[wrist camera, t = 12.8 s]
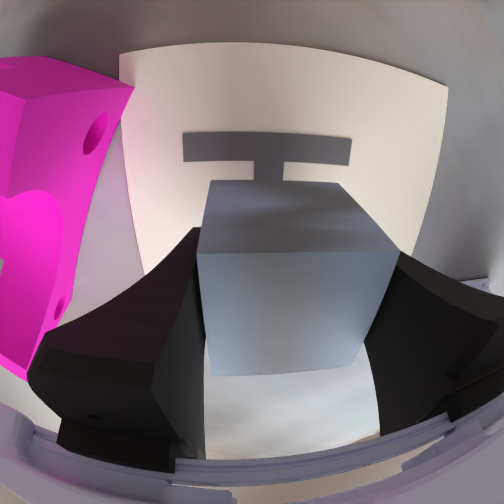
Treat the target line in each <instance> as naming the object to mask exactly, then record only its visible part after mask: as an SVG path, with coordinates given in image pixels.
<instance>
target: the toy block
mask: <svg viewBox="0 0 504 504" xmlns="http://www.w3.org/2000/svg"><path fill="white" fill-rule="evenodd" d="M134 88H135V87H133V86H131V85H128V84H126V83H123V82H121V81H118V80H115V79H113V78H110V77H107V76H105V75H102V74H99V73H97V72H94V71H91V70H88V69H85V68H82V67H79V66H76V65H73V64H70V63H66V62H63V61H60V60H56V59H53V58H49V57H46V56H22V57H4V58H0V258H1V259H3V260H4V263H3V267H2V271H1V274H0V365H1V366H3V367H4V368H6V369H7V370H9V371H10V372H12V373H13V374H15V375H17V376H18V377H20V378H21V379H23V380H25V381H26V382H28V381H27V371H28V369H29V366H30V364H31V362H32V359H33V357H34V355H35V353H36V351H37V348H38V346H39V344H40V342H41V340H42V338H43V336H44V334H45V332H47V331H50V330H52V329H54V328H56V327H57V325H58V323H59V321H60V319H61V318H62V316H63V314H64V312H65V310H66V308H67V307H68V305H69V303H70V301H71V298H72V290H73V283H74V276H75V270H76V264H77V259H78V253H79V248H80V243H81V239H82V234H83V230H84V226H85V221H86V217H87V214H88V210H89V206H90V202H91V199H92V195H93V192H94V189H95V185H96V182H97V179H98V176H99V173H100V170H101V167H102V164H103V161H104V158H105V156H106V153H107V150H108V147H109V145H110V142H111V140H112V137H113V135H114V132H115V130H116V127H117V125H118V123H119V120H120V118H121V116H122V113H123V111H124V109H125V107H126V105H127V103H128V100H129V98H130V96H131V94H132V92H133V90H134Z"/></svg>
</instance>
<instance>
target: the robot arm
mask: <svg viewBox="0 0 504 504" xmlns="http://www.w3.org/2000/svg"><path fill="white" fill-rule="evenodd" d="M200 231H201V227H193V228H192V229H191V230H190V231H189V232H188V233H187V234H186V235H185V236H184V238H183V239H182V240H181V241H180V242H179V243H178V244H177V245H176V246H175V247H174V249H173V250H172V251H171V252H170V253H169V254H168V255H167V256H166V257H165V258H164V259H163V260H162V261H161V262H160V263H159V264H158V265H157V266H156V267H155V268H153V269H152V270H151V271H150V272H149V273H148V274H146V275H145V276H144V277H143V278H141V279H140V280H139V281H138V282H136V283H135V284H134V285H132V286H131V287H130V288H128V289H127V290H125V291H124V292H122V293H121V294H119V295H118V296H116V297H114V298H113V299H111V300H110V301H108V302H107V303H105V304H103V305H102V306H100V307H98V308H96V309H95V310H93V311H91V312H89V313H87V314H85V315H83V316H81V317H79V318H77V319H75V320H73V321H70V322H68V323H66V324H64V325H61V326H59V327H57V328H54V329H52V330H50V331H47V332H45V334H44V336H43V338H42V340H41V342H40V344H39V346H38V348H37V351H36V353H35V355H34V357H33V359H32V362H31V364H30V366H29V369H28V371H27V381H28V383H29V385H30V387H31V389H32V390H33V392H34V393H35V394H36V395H37V396H38V397H39V398H40V399H41V400H42V401H43V402H44V403H45V404H46V405H47V406H48V407H49V408H50V409H51V410H52V411H54V412H55V413H56V414H57V415H58V416H59V417H60V418H61V419H62V420H61V425H60V428H59V432H58V433H56V432H53V431H50V430H47V429H44V428H42V427H39V426H37V425H34V423H33V422H32V421H31V420H30V419H29V418H27V417H26V416H25V415H23V414H22V413H20V412H19V411H17V410H15V409H13V408H11V407H9V406H7V405H5V404H3V403H1V402H0V484H1V485H2V486H4V487H5V488H7V489H8V490H9V491H11V492H12V493H14V494H15V495H16V496H18V497H20V498H21V499H22V500H24V501H25V502H27V503H28V504H237V503H236V502H237V501H236V498H235V497H233V496H232V493H231V492H230V491H228V490H215V489H204V488H195V487H187V486H177V485H172V484H179V485H192V486H212V487H235V486H237V487H238V486H257V485H258V486H259V485H272V484H281V483H289V482H297V481H303V480H309V479H315V478H320V477H325V476H330V475H335V474H339V473H343V472H347V471H351V470H355V469H359V468H362V467H366V466H369V465H372V464H375V463H379V462H382V461H385V460H387V459H390V458H393V457H396V456H399V455H401V454H403V453H406V452H409V451H411V450H414V449H416V448H419V447H421V446H423V445H425V444H428V443H430V442H432V441H434V440H436V439H437V442H436V443H434V444H433V445H432V446H430V447H429V448H428V449H427V450H425V451H423V452H422V453H420V454H418V455H417V456H415V457H413V458H411V459H409V460H408V461H406V462H404V463H402V465H401V467H402V470H403V472H401V473H399V474H396V475H393V476H391V477H388V478H385V479H383V480H380V481H377V482H374V483H371V484H368V485H365V486H362V487H358V488H355V489H352V490H348V491H344V492H341V493H337V494H333V495H328V496H324V497H319V498H314V499H309V500H304V501H298V502H291V503H284V504H504V297H502V296H498V295H494V294H493V293H492V292H491V291H490V290H489V289H488V288H489V286H490V284H491V282H492V280H491V279H490V278H484V279H476V280H469V281H461V282H459V281H456V280H454V279H452V278H450V277H448V276H445V275H443V274H441V273H440V272H438V271H436V270H434V269H432V268H430V267H428V266H426V265H424V264H423V263H421V262H419V261H417V260H416V259H414V258H412V257H411V256H409V255H407V254H406V253H404V252H402V251H401V250H400V254H399V257H398V260H397V263H396V266H395V268H394V271H393V274H392V276H391V279H390V282H389V284H388V287H387V289H386V292H385V294H384V297H383V299H382V301H381V304H380V306H379V309H378V311H377V313H376V315H375V318H374V320H373V322H372V324H371V326H370V329H369V331H368V333H367V335H366V337H365V339H364V344H365V347H366V351H367V355H368V358H369V362H370V366H371V370H372V375H373V380H374V384H375V390H376V396H377V403H378V411H379V422H380V437H378V438H375V439H371V440H368V441H364V442H360V443H356V444H352V445H348V446H343V447H339V448H334V449H329V450H324V451H318V452H313V453H306V454H299V455H292V456H283V457H274V458H261V459H245V460H244V459H242V460H206V455H205V454H206V453H205V434H204V349H205V340H206V332H205V324H204V317H203V309H202V301H201V292H200V283H199V274H198V265H197V254H196V253H197V248H198V242H199V237H200Z"/></svg>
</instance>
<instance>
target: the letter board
mask: <svg viewBox="0 0 504 504" xmlns="http://www.w3.org/2000/svg"><path fill="white" fill-rule="evenodd" d="M119 81H121V82H123V83H126V84H128V85H131V86H133V87H135V88H134V90H133V92H132V94H131V96H130V98H129V100H128V103H127V105H126V107H125V109H124V111H123V113H122V116H121V130H122V141H123V152H124V161H125V169H126V177H127V184H128V191H129V198H130V204H131V210H132V216H133V222H134V227H135V232H136V237H137V242H138V247H139V252H140V256H141V261H142V265H143V269H144V274H145V275H146V274H148V273H149V272H150V271H151V270H152V269H153V268H155V267H156V266H157V265H158V264H159V263H160V262H161V261H162V260H163V259H164V258H165V257H166V256H167V255H168V254H169V253H170V252H171V251H172V250H173V249H174V247H175V246H176V245H177V244H178V243H179V242H180V241H181V240H182V239H183V238H184V236H185V235H186V234H187V233H188V232H189V231H190V230H191V229H192V228H193V227H201V226H202V221H203V215H204V210H205V205H206V200H207V195H208V190H209V186H210V181H211V180H290V181H314V182H332V183H338V184H340V185H341V186H342V187H343V188H344V189H345V190H346V191H347V193H348V194H349V195H350V196H351V197H352V198H353V199H354V200H355V201H356V202H357V203H358V204H359V205H360V206H361V207H362V208H363V209H364V210H365V211H366V212H367V213H368V214H369V216H370V217H371V218H372V219H373V220H374V221H375V222H376V223H377V224H378V225H379V227H380V228H381V229H382V230H383V231H384V232H385V233H386V234H387V236H388V237H389V238H390V239H391V240H392V241H393V243H394V244H395V245H396V246H397V247H398V248H399V250H401V251H402V252H404V253H406V254H407V255H409V256H411V255H412V252H413V249H414V246H415V243H416V240H417V237H418V234H419V231H420V228H421V225H422V222H423V218H424V215H425V212H426V208H427V205H428V201H429V197H430V193H431V190H432V186H433V181H434V177H435V173H436V168H437V164H438V159H439V154H440V148H441V143H442V137H443V131H444V124H445V116H446V108H447V98H448V87H446V86H444V85H441V84H439V83H437V82H434V81H432V80H429V79H427V78H424V77H421V76H419V75H416V74H413V73H411V72H408V71H405V70H402V69H399V68H396V67H393V66H389V65H386V64H383V63H379V62H376V61H372V60H368V59H364V58H360V57H356V56H352V55H347V54H342V53H337V52H332V51H327V50H321V49H315V48H308V47H300V46H292V45H282V44H269V43H249V42H216V43H196V44H183V45H173V46H165V47H157V48H151V49H144V50H139V51H133V52H128V53H123V54H119Z"/></svg>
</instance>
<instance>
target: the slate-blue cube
mask: <svg viewBox="0 0 504 504" xmlns="http://www.w3.org/2000/svg"><path fill="white" fill-rule="evenodd" d="M196 254H197V265H198V274H199V283H200V292H201V301H202V309H203V317H204V324H205V332H206V339H207V346H208V352H209V359H210V365H211V372H212V376H250V375H269V374H284V373H295V372H305V371H315V370H323V369H330V368H338V367H344V366H351V365H352V363H353V361H354V359H355V357H356V355H357V353H358V351H359V349H360V347H361V345H362V343H363V341H364V339H365V337H366V335H367V333H368V331H369V329H370V326H371V324H372V322H373V320H374V318H375V315H376V313H377V311H378V309H379V306H380V304H381V301H382V299H383V297H384V294H385V292H386V289H387V287H388V284H389V282H390V279H391V276H392V274H393V271H394V268H395V266H396V263H397V260H398V257H399V254H400V250H399V248H398V247H397V246H396V245H395V244H394V243H393V241H392V240H391V239H390V238H389V237H388V236H387V234H386V233H385V232H384V231H383V230H382V229H381V228H380V227H379V225H378V224H377V223H376V222H375V221H374V220H373V219H372V218H371V217H370V216H369V214H368V213H367V212H366V211H365V210H364V209H363V208H362V207H361V206H360V205H359V204H358V203H357V202H356V201H355V200H354V199H353V198H352V197H351V196H350V195H349V194H348V193H347V191H346V190H345V189H344V188H343V187H342V186H341V185H340V184H338V183H332V182H314V181H290V180H211V181H210V186H209V190H208V195H207V200H206V205H205V210H204V215H203V221H202V226H201V231H200V237H199V242H198V248H197V253H196Z"/></svg>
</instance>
